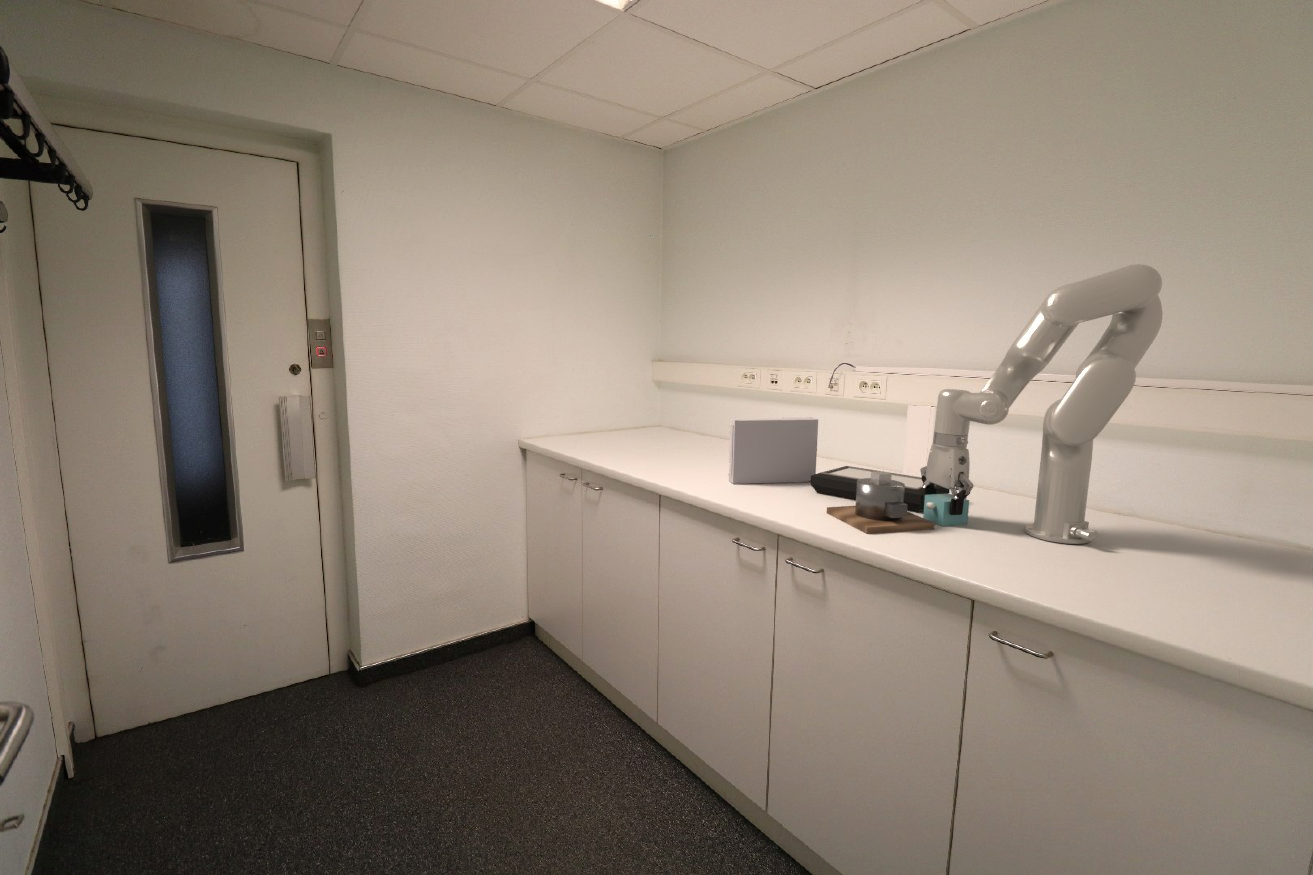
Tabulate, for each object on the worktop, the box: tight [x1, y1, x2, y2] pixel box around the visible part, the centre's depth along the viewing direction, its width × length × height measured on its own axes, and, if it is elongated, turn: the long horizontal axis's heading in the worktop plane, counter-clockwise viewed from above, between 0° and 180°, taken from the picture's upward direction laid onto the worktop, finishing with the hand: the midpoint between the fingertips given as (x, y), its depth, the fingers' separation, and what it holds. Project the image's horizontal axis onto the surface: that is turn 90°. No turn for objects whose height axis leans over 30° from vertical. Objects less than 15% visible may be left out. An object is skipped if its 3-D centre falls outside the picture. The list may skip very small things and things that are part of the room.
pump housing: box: [922, 493, 970, 527], centre depth 151 cm, size 7×9×6 cm
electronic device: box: [809, 465, 951, 513], centre depth 175 cm, size 32×6×20 cm
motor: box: [854, 470, 908, 521], centre depth 150 cm, size 14×11×10 cm
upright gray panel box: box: [728, 417, 819, 485], centre depth 194 cm, size 6×27×20 cm, turn 100°
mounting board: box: [826, 505, 936, 535], centre depth 152 cm, size 18×18×2 cm
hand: (941, 508), depth 152 cm, fingers open, 9 cm apart
